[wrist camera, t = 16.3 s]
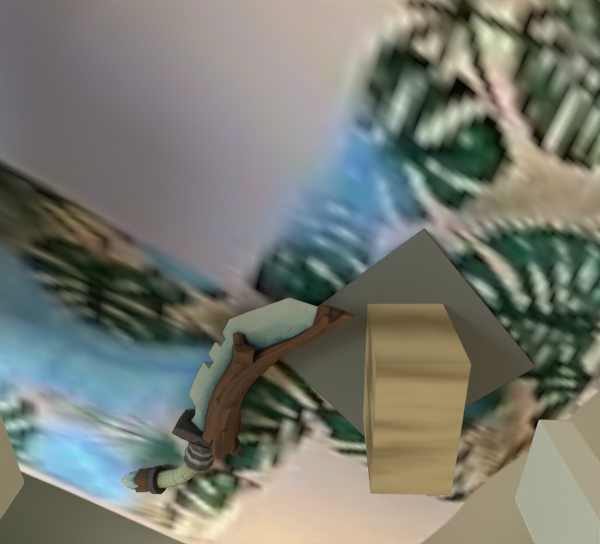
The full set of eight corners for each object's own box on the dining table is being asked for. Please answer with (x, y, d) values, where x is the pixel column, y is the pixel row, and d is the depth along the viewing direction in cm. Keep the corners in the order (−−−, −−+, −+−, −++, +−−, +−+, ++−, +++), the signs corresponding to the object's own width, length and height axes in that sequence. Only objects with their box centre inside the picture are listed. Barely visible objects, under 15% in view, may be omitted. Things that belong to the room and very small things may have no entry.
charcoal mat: (382, 450, 45) (382, 453, 44) (269, 341, 40) (268, 345, 40) (533, 363, 40) (535, 367, 39) (424, 228, 35) (425, 230, 35)
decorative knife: (131, 464, 49) (263, 243, 37) (201, 507, 50) (356, 302, 37) (107, 498, 45) (246, 263, 33) (184, 545, 46) (350, 330, 33)
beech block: (451, 495, 35) (471, 364, 30) (370, 493, 36) (377, 363, 30) (429, 419, 42) (442, 303, 37) (363, 418, 43) (367, 303, 38)
